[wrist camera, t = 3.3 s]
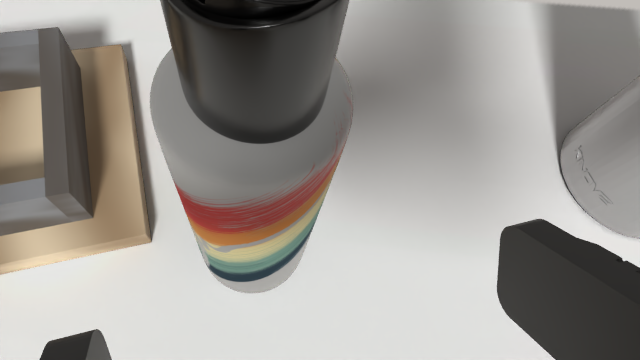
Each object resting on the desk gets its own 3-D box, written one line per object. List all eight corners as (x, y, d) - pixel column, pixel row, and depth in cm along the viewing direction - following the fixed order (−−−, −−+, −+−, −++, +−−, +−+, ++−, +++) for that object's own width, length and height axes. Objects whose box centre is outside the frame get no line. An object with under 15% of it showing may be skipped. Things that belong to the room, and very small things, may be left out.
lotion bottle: (184, 233, 26) (23, -124, 8) (266, 183, 28) (294, -193, 10) (238, 316, 24) (198, 117, 6) (321, 257, 26) (474, -23, 8)
